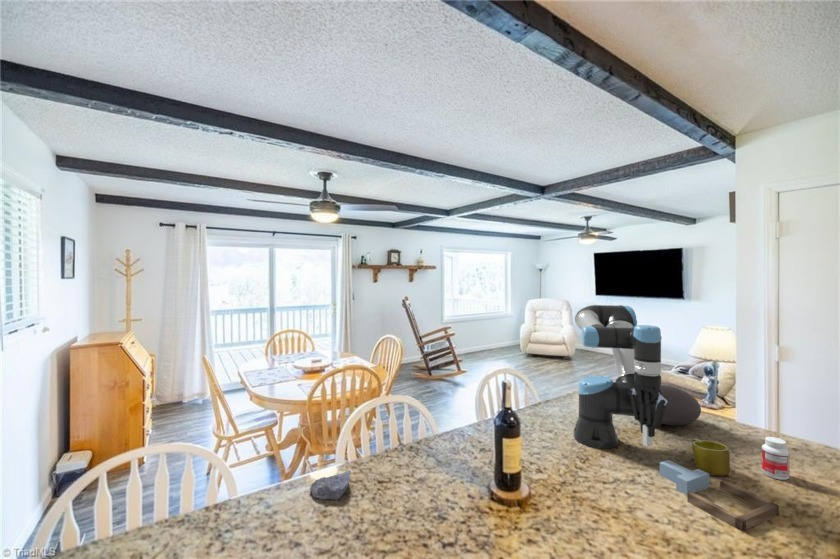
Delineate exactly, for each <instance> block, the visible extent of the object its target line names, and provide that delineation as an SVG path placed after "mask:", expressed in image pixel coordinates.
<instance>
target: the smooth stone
mask: <svg viewBox="0 0 840 559" xmlns="http://www.w3.org/2000/svg"><path fill="white" fill-rule="evenodd" d="M660 391H661V393H662V396H663V397H664V398H665V399H668V400H669V403H668V404H667V406H666V408H665V412H664V416H663V420H662V424H661V425H667V426H682V425H688V424H691V423H693V422H695V421H696V420H698V419H699V418H700V416H701V413H702V408H701V405H700V403H699V401H698V400H697V399H696V398H695V397H694V396H693V395H691V394H690V393H688V392H687V391H685V390H684V389H680V388H679V387H676V386H671V385H668V384H667V385H666V384H661V387H660Z"/></svg>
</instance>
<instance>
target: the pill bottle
mask: <svg viewBox="0 0 840 559" xmlns="http://www.w3.org/2000/svg"><path fill="white" fill-rule="evenodd" d="M786 447H787V442H786V441H785V440H784V439H782V438H779V437H775V436H766V437H765V438H764V444H762V446H761V471H762V473H763V474H764V475H766V476H767V477H770V478H771V479H776V480H779V481H780V480H781V481H786V480H787V481H788V479H790V451H789V450H788V449H787V448H786Z"/></svg>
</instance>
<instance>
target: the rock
mask: <svg viewBox="0 0 840 559" xmlns="http://www.w3.org/2000/svg"><path fill="white" fill-rule="evenodd" d="M350 477H351V470H347V471H344V472H341V473H338V474H334V475H330V476H328V477H326V476H324V477H320V478H319V479H316V480H315V481H314V482H312V483H311V484H310V488H309V489H310V491H311V494H312V496H313V497H314V498H315V497H316V498H315V499H318V498H319V499H318V500H334V499H335V501H338V499H339V500H340V499H341V497H342V496H343V495H344V493H346V491H347V488H348V486H349V483H350V480H351V478H350Z"/></svg>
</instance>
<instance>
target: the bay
mask: <svg viewBox="0 0 840 559" xmlns="http://www.w3.org/2000/svg"><path fill="white" fill-rule="evenodd" d="M719 490H721V491H722V490H723V491H722V492H724V491H725V492H724V493H726V492H727V493H726V494H728V493H729V495H731V496H733V497H735V498H737V499H739V498H740V499H739V500H741V499H742V500H741V501H743V500H744V501H743V502H745V501H746V502H745V503H747V502H748V503H747V504H750V505H751V504H752V505H751V506H753V505H754V506H753V507H756V508H754V509H752V510H750V511H747V512H745V513H743V514H740V515H738V514H736V513H734V512H731V511H729V510H728V509H726V508H724V507H722V506H720V505H718V504H716V503H714V502H712V501H710V500H708V499H706V498H704V497H703V496H701V495H699V494H696V492H694V493H693V492H688V493H687V495H686V496H687V503H690V504H691V505H693V506H695V507H696V508H699V509H700V510H702V511H704V512H706V513H707V514H710V515H711V516H713V517H715V518H717V519H719V520H720V521H722V522H724V523H725V524H727V525H729V526H732V527H733V528H735V529H737V530H738V531H741V532H745V531H747V530H749V529H751V528H753V527H755V526H757V525H760V524H762V523H764V522H767V521H769V520H771V519H773V518H775V517H777V516H779V515H780V504H777V503H775V502H773V501H770V499H767V498H764V497H762V496H760V495H758V494H755V493H754V492H751V491H748V490H747V489H744V488H742V487H740V486H738V485H735V483H734V484H733V483H732V482H729V481H727V480H724V479H722V480H719Z"/></svg>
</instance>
